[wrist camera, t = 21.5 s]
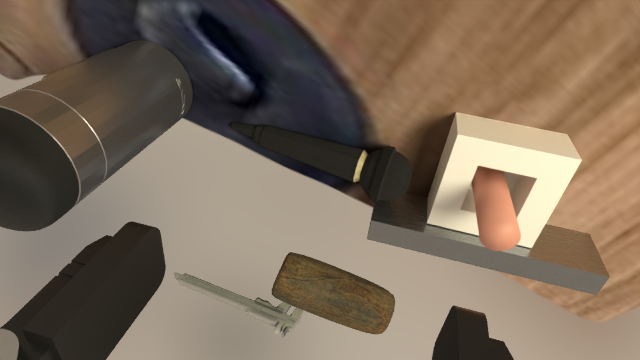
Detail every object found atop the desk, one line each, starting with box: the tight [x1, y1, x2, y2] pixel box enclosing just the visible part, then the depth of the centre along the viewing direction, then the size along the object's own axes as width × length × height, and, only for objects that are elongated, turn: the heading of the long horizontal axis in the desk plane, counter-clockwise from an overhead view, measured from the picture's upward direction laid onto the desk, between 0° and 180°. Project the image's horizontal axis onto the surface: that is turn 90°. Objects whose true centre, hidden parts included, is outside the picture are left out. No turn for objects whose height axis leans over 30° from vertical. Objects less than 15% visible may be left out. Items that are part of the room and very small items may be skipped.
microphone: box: [231, 122, 412, 202], centre depth 42 cm, size 6×6×20 cm
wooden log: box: [272, 252, 395, 334], centre depth 51 cm, size 15×7×7 cm, turn 75°
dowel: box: [472, 166, 521, 251], centre depth 36 cm, size 3×3×10 cm
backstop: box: [367, 193, 610, 295], centre depth 42 cm, size 22×2×6 cm, turn 83°
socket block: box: [427, 112, 582, 248], centre depth 39 cm, size 10×10×5 cm
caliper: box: [175, 273, 303, 337], centre depth 58 cm, size 20×1×6 cm, turn 88°
